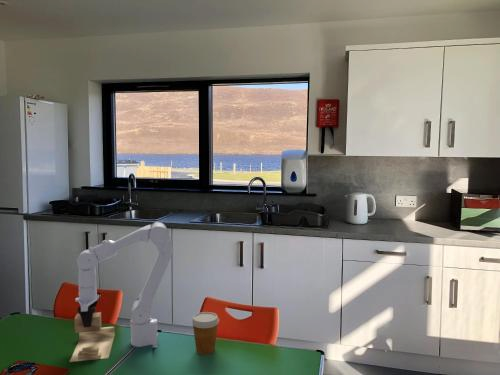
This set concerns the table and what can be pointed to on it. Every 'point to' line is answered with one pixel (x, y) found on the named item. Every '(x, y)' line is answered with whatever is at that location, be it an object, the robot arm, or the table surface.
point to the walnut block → (94, 325)
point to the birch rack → (95, 342)
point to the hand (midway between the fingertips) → (88, 323)
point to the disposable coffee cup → (205, 331)
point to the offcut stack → (89, 353)
